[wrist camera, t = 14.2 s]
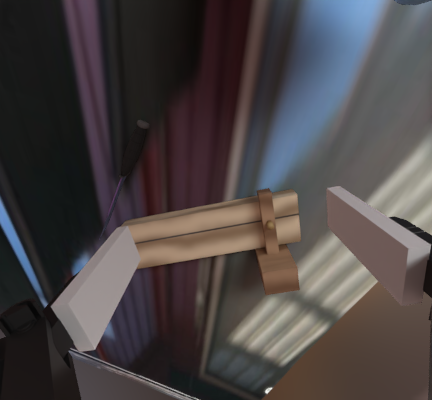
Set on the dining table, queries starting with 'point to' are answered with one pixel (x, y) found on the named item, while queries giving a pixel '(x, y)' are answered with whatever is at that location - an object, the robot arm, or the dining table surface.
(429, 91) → the dining table surface
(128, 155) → the knife
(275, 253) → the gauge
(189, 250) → the board
